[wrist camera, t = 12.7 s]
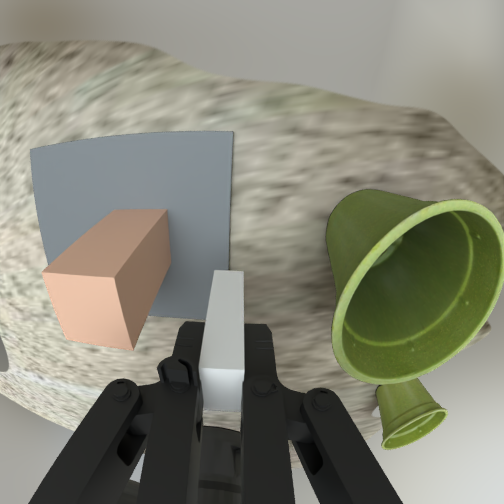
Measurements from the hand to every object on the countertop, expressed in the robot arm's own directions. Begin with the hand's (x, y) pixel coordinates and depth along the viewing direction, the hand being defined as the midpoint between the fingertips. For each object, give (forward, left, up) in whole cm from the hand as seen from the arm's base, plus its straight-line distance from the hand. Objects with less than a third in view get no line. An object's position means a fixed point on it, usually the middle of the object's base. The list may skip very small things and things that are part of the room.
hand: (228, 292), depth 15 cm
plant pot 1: (+1, -11, -8) cm, 13 cm away
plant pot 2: (-21, -23, -8) cm, 32 cm away
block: (0, +7, -7) cm, 10 cm away
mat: (0, +9, -8) cm, 12 cm away
